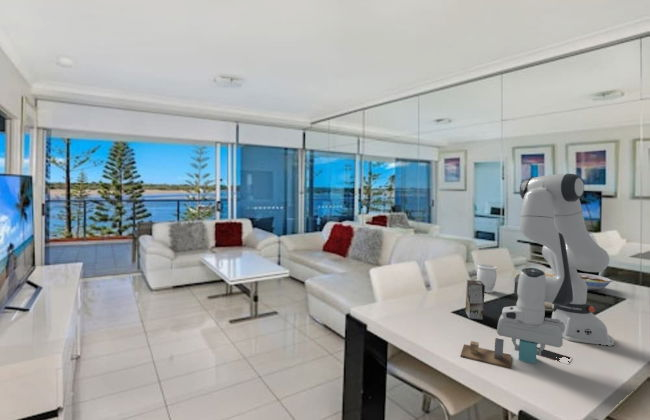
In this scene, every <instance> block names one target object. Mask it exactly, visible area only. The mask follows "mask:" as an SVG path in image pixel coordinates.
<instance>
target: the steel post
mask: <svg viewBox="0 0 650 420" xmlns="http://www.w3.org/2000/svg"><path fill="white" fill-rule="evenodd" d="M494 340H495V341H494V351H495V352H494V358H495V359H499V360H502V358H503V353H504V340H505V339H504V338H503V339H502V338H497V337H495V339H494Z"/></svg>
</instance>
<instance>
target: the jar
mask: <svg viewBox="0 0 650 420" xmlns="http://www.w3.org/2000/svg"><path fill="white" fill-rule="evenodd" d="M477 268H478V269H477V273H476V279H477V280H476V281H481V282H482V283H483V284H484V285H485V292H486V294H492V293H494V292H495V291H494V288H495V286H496V282H497V269H498V268H497V266H496V265H492V264H481V263H480V264H477ZM485 292H484V293H485Z"/></svg>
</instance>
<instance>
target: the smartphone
mask: <svg viewBox="0 0 650 420" xmlns="http://www.w3.org/2000/svg"><path fill="white" fill-rule="evenodd" d="M539 348H540V347H538V346H537V349H539ZM540 357H543V358H545V357H546V359H548V358H549V360H552V361H555V360H557V361H556V362H558V361H559V360H560V359H559V358H562V357H566V358H568V359H570V358H572V357H571V356H567V355H564V354H561V353H559V352H555V351H552V350H549V349H548V350H547V349H546V348H544V349H543V350H542V351H541V356H540ZM556 357H557V358H556ZM568 362H569V361H568ZM559 363H561V362H560V361H559ZM569 363H571V362H569Z"/></svg>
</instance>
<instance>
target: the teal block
mask: <svg viewBox="0 0 650 420" xmlns="http://www.w3.org/2000/svg"><path fill="white" fill-rule="evenodd" d="M518 340H519V342H518V345H519V351H518V360H519V361H521V362H527V363H531V364H537V355H536V353H537V347H538V343H534V342H529V341H524V340H520V339H518Z"/></svg>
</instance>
